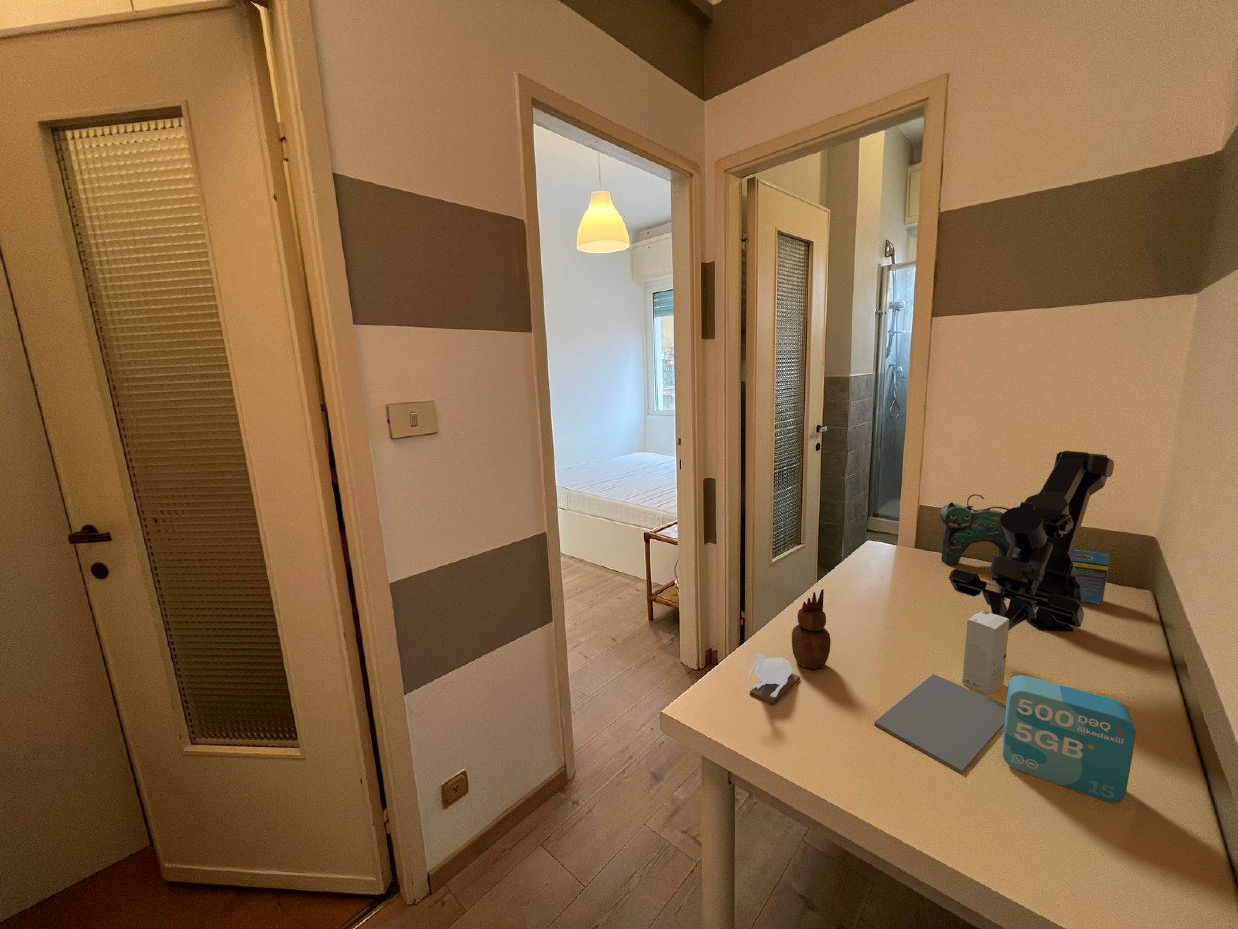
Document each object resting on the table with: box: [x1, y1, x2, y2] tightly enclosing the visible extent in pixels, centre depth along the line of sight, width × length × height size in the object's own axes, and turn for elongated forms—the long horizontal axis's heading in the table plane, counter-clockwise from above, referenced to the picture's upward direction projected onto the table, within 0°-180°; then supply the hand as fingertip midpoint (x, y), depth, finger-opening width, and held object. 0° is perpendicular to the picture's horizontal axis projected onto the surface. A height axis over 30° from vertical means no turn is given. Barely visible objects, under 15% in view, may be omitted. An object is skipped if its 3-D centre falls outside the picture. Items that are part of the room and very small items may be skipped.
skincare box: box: [961, 610, 1009, 696], centre depth 84 cm, size 6×4×12 cm
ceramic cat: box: [939, 493, 1011, 567], centre depth 134 cm, size 20×6×20 cm, turn 81°
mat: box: [873, 673, 1006, 774], centre depth 77 cm, size 20×12×1 cm, turn 125°
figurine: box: [746, 653, 801, 707], centre depth 84 cm, size 14×4×9 cm, turn 134°
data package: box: [1002, 674, 1137, 804], centre depth 65 cm, size 12×4×12 cm, turn 53°
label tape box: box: [1071, 549, 1110, 606], centre depth 113 cm, size 9×4×12 cm, turn 58°
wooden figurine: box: [791, 588, 832, 670], centre depth 91 cm, size 7×6×15 cm
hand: (995, 636), depth 86 cm, fingers closed
